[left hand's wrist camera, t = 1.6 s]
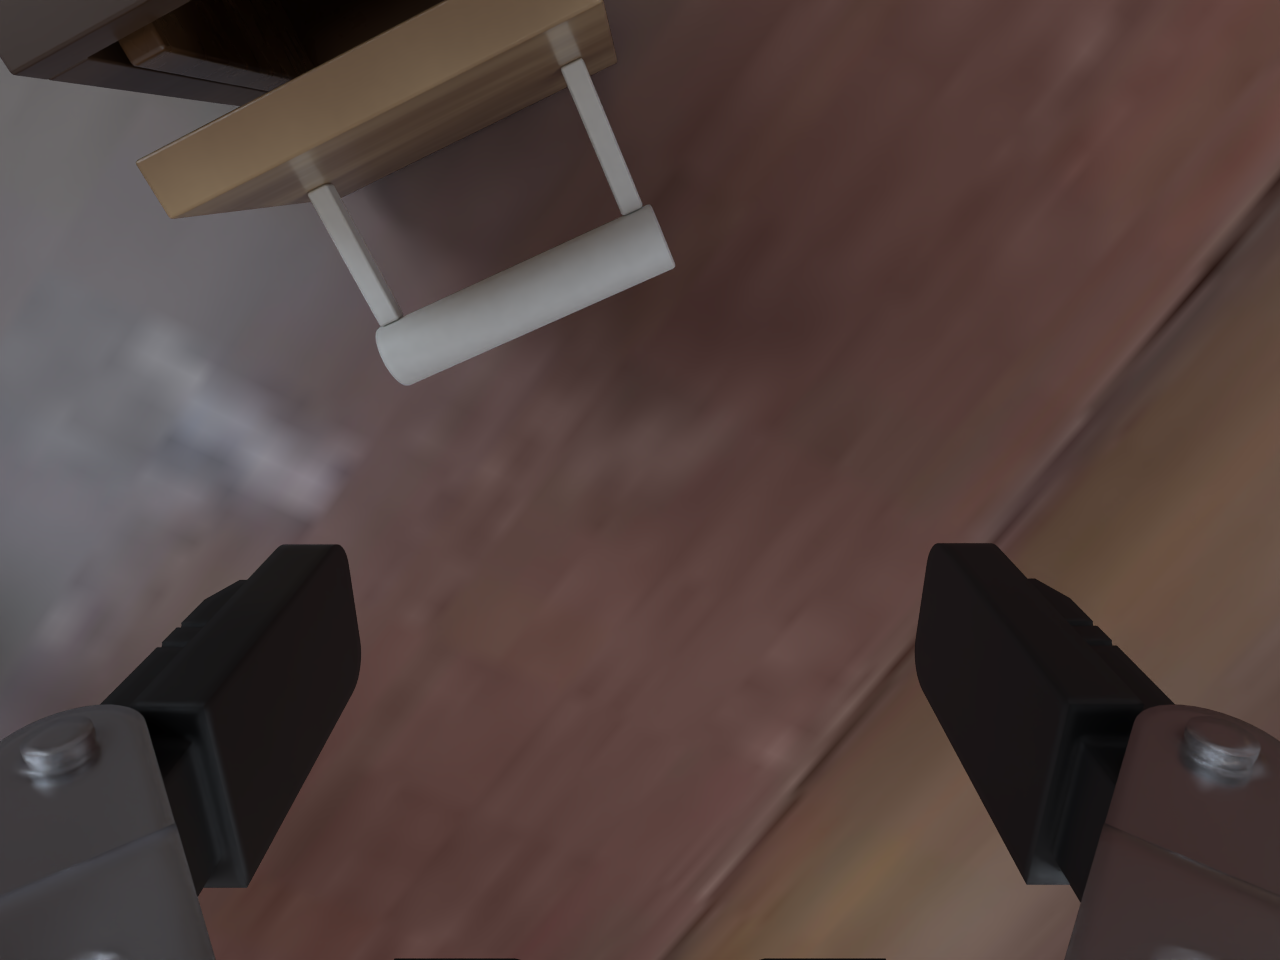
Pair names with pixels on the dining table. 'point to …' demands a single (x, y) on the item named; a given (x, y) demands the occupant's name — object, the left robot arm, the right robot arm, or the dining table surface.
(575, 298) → the drawer
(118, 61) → the cabinet
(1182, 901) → the left robot arm
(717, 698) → the dining table surface
